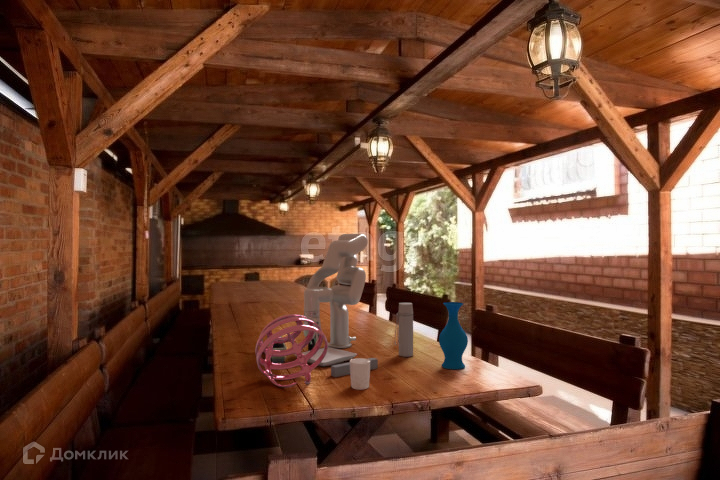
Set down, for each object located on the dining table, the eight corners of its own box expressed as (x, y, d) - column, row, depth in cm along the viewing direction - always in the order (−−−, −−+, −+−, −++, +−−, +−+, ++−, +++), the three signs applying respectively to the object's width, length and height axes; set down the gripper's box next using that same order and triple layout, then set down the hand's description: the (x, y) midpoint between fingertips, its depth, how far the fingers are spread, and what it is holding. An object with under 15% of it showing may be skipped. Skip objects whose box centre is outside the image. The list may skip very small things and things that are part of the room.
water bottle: (415, 354, 229) (415, 302, 228) (411, 358, 221) (411, 305, 221) (396, 352, 232) (396, 301, 231) (392, 356, 224) (392, 304, 224)
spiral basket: (335, 341, 168) (313, 292, 189) (258, 366, 161) (243, 312, 181) (339, 388, 186) (318, 338, 206) (270, 412, 178) (255, 358, 198)
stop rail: (373, 366, 207) (373, 357, 207) (377, 368, 204) (377, 359, 204) (331, 375, 194) (330, 365, 194) (334, 377, 191) (334, 367, 191)
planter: (287, 363, 213) (286, 347, 213) (270, 364, 211) (270, 348, 211) (281, 349, 240) (281, 335, 239) (267, 350, 238) (267, 336, 238)
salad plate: (293, 361, 218) (293, 353, 218) (328, 353, 233) (328, 346, 233) (323, 370, 203) (323, 362, 203) (358, 361, 218) (358, 353, 218)
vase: (433, 365, 209) (433, 302, 209) (457, 362, 214) (457, 300, 214) (449, 372, 198) (448, 305, 198) (473, 369, 203) (473, 304, 203)
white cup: (349, 384, 182) (349, 358, 182) (369, 383, 183) (369, 357, 183) (350, 390, 175) (350, 363, 175) (371, 390, 175) (371, 363, 175)
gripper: (326, 315, 224) (326, 354, 224) (311, 311, 236) (311, 348, 236) (312, 317, 219) (312, 356, 220) (297, 312, 232) (297, 350, 232)
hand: (311, 351), depth 228 cm, fingers closed
